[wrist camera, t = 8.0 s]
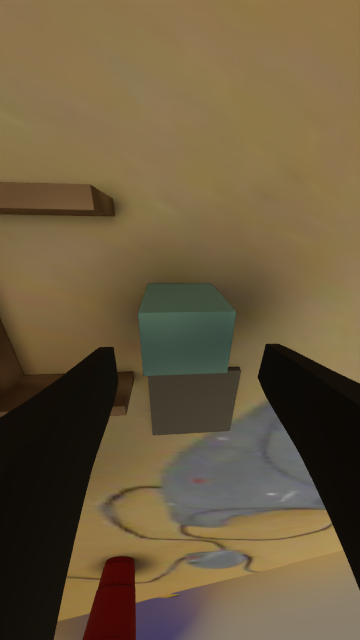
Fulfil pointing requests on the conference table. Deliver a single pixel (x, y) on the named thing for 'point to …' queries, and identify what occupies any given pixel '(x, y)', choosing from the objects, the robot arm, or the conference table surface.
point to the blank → (185, 329)
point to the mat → (193, 402)
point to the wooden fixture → (3, 367)
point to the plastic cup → (114, 603)
